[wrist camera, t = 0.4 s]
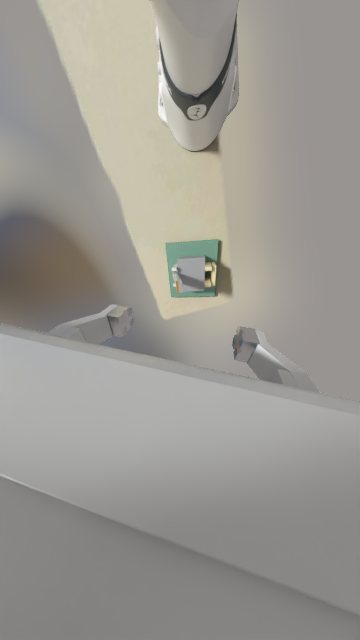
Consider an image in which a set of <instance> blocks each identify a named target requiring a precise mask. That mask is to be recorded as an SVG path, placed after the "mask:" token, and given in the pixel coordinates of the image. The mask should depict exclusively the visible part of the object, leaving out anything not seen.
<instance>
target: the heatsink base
mask: <svg viewBox="0 0 360 640" xmlns="http://www.w3.org/2000/svg"><path fill="white" fill-rule="evenodd" d="M166 253H167V262H168V271H169V281H170V290H171V297H202V296H215V283H216V269H217V254H218V239H216V240H203V241H189V242H176V243H166ZM172 271H177V274H178V276H179V277H180V279H181V281H182V289H183V293H177V292H176V285H175V283H173V273H172Z"/></svg>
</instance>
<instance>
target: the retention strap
mask: <svg viewBox="0 0 360 640" xmlns="http://www.w3.org/2000/svg"><path fill="white" fill-rule="evenodd" d="M172 273H173V283H175V285H176V292H177V293H183V289H182V281H181V279H180V277H179V276H178V274H177V271H172Z"/></svg>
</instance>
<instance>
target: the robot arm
mask: <svg viewBox="0 0 360 640" xmlns="http://www.w3.org/2000/svg"><path fill="white" fill-rule="evenodd" d="M150 3H151V6H152V9H153V13H154V17H155V20H156V43H157V49H158V50H159V51H160V57H159V60H158V74H159V98H158V113H159V118H160V120H161V121H162V122H163V123H164V124H165V125H166V126H168V127H169V128H170V130H171V132H172V134H173V136H174V137H175V139H176V141H177V142H178V143H179V144H180V145H181V146H182V147H183V148H185V149H187V150H190V151H199V150H202V149H204V148H206V147H207V146H208V145H210V144H211V143H212V142H213V140H214V139H215V138H216V136H217V135H218V133H219V131H220V129H221V127H222V125H223V123H224V121H225V119H226V117H227V116H228V115H229V114H230V112H231V111H232V110H233V109H234V107H235V106H236V104H237V101H238V96H239V87H238V57H237V56H238V54H237V20H236V18H237V6H238V0H150ZM233 88H234V91H233ZM162 104H163V106H162ZM131 314H132V308H131V307H126V306H120V305H115V304H111V305H110V306H109V307H108V308H106V309H105V310H104V311H102V312H101V313H100V314H95V315H91V316H88V317H84V318H81V319H77V320H74V321H70V322H67V323H63V324H60V325H59V326H57V327H56V328H54V329H53V330H51V331H50V332H48V333H42V332H37V331H33V330H28V329H24V328H19V327H15V326H10V325H5V324H1V323H0V640H360V401H356V400H351V399H346V398H341V397H337V396H332V395H328V394H323V393H320V392H319V391H318V389H317V388H316V386H315V384H314V383H313V381H312V380H311V378H310V377H309V375H308V374H307V373H306V372H304V371H303V370H302V369H300V368H299V367H298V366H296V365H295V364H294V363H293V362H291V361H290V360H289V359H287V358H286V357H285V356H284V355H282V354H281V353H280V352H279V351H277V350H276V349H275V348H273V347H272V346H269V344H268V342H267V340H266V337H265V335H264V333H263V331H262V330H260V329H252V328H245V327H238V328H237V331H236V332H237V334H236V335H235V336H234V338H233V342H232V343H233V344H232V346H233V349H234V359H235V360H237V361H242V362H246V363H247V364H248V365H249V366H250V368H251V369H252V370H253V372H254V373H255V374H256V375H257V377H258V378H259V379H260V380H258V379H254V378H249V377H245V376H240V375H235V374H231V373H226V372H222V371H217V370H213V369H208V368H203V367H199V366H194V365H190V364H185V363H181V362H176V361H171V360H167V359H162V358H157V357H153V356H148V355H143V354H139V353H134V352H130V351H125V350H120V349H116V348H111V347H107V346H102V345H97V344H99V343H100V342H103V341H104V340H106V339H108V338H110V337H111V336H113V335H114V336H120V337H124V336H125V334H126V333H127V329H130V328H131V327H132V325H133V322H134V319H133V316H132V315H131Z"/></svg>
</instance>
